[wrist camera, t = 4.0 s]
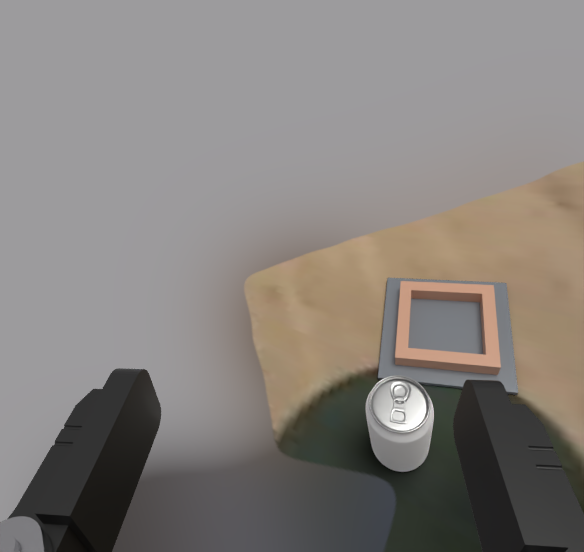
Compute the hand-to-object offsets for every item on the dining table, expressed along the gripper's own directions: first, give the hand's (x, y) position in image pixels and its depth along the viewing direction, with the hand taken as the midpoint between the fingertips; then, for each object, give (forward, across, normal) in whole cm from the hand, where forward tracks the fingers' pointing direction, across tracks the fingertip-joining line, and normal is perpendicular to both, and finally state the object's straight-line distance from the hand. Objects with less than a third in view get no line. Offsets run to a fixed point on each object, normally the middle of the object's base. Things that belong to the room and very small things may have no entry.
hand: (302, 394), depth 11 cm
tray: (+36, +16, -31) cm, 50 cm away
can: (+22, +9, -36) cm, 43 cm away
